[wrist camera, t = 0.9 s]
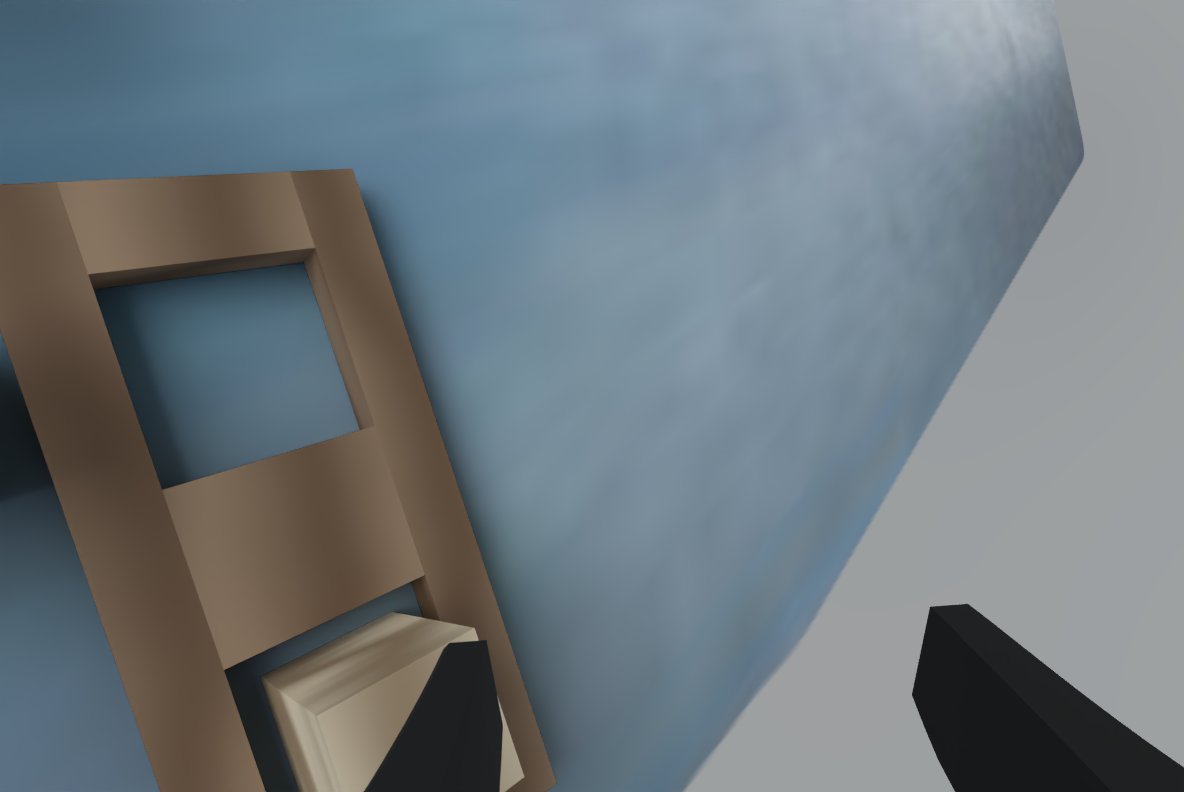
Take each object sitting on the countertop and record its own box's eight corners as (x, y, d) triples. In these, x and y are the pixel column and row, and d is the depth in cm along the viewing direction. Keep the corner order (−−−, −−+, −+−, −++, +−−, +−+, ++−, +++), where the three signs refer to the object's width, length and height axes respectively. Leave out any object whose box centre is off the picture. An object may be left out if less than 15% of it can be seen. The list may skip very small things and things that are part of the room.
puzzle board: (234, 1004, 19) (244, 1033, 18) (-42, 209, 19) (-50, 186, 18) (535, 772, 26) (556, 782, 25) (339, 186, 26) (352, 168, 24)
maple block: (305, 809, 21) (375, 890, 16) (259, 676, 21) (316, 716, 16) (430, 729, 24) (524, 776, 19) (390, 611, 24) (474, 628, 19)
